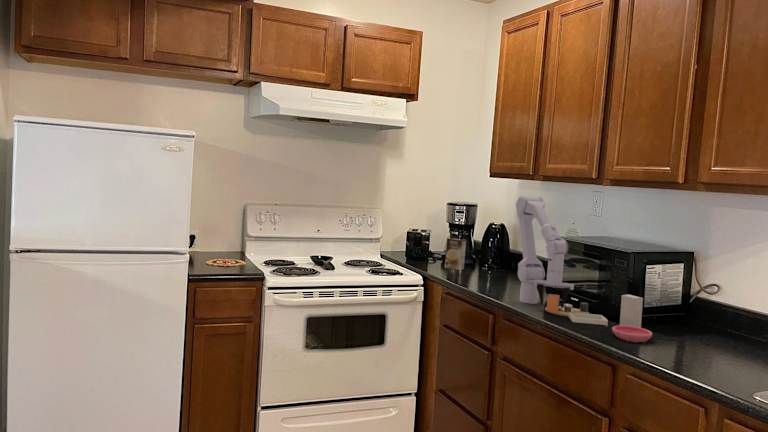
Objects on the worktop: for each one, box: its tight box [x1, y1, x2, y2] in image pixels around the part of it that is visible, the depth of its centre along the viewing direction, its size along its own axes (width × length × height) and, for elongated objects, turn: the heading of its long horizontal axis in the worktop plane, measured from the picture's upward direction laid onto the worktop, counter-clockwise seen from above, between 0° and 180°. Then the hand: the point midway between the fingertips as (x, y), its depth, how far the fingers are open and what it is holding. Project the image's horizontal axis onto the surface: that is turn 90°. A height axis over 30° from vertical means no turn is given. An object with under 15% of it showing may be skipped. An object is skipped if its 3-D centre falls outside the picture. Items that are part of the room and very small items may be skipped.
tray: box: [567, 312, 609, 328], centre depth 215 cm, size 8×12×2 cm, turn 84°
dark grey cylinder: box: [558, 302, 589, 314], centre depth 228 cm, size 14×3×4 cm, turn 62°
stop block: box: [545, 293, 561, 313], centre depth 227 cm, size 4×4×6 cm
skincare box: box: [619, 294, 644, 328], centre depth 209 cm, size 6×4×12 cm
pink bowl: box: [611, 324, 653, 343], centre depth 197 cm, size 12×12×3 cm
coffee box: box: [444, 237, 467, 271], centre depth 318 cm, size 9×6×16 cm
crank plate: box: [544, 305, 591, 317], centre depth 228 cm, size 17×17×2 cm
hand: (551, 305), depth 227 cm, fingers open, 7 cm apart
